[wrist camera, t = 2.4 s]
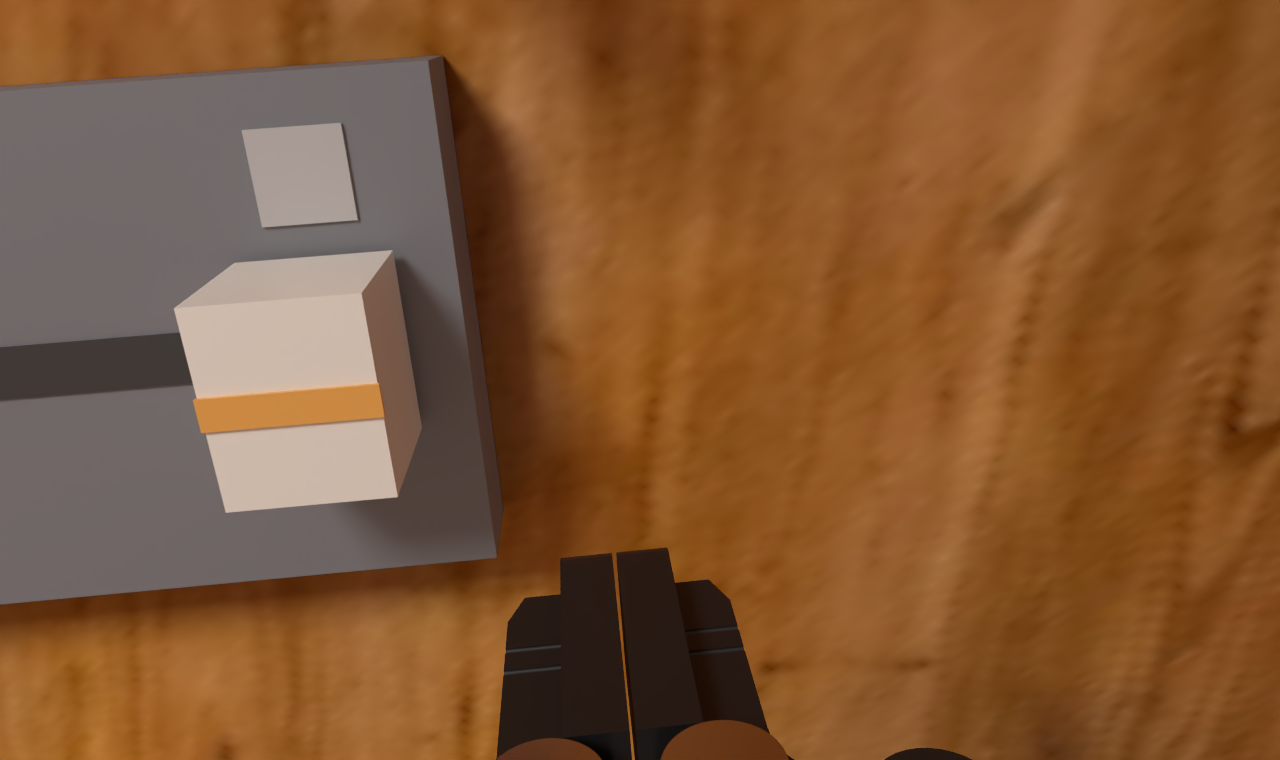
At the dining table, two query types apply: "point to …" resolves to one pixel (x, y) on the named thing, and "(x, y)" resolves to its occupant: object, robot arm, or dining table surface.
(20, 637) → the dining table surface
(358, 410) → the fader knob
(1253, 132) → the dining table surface
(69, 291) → the fader console
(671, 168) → the dining table surface
